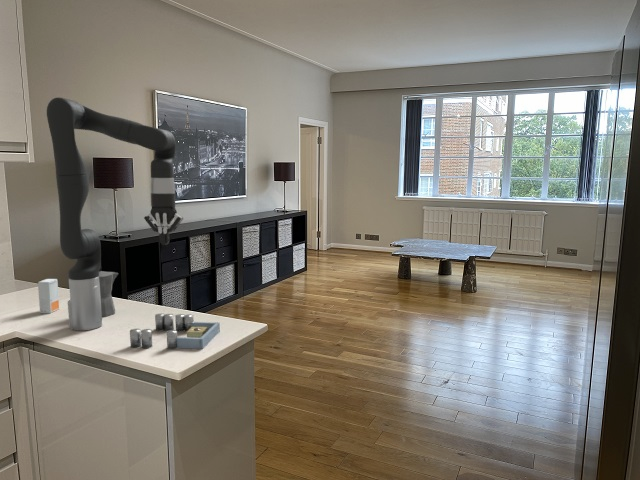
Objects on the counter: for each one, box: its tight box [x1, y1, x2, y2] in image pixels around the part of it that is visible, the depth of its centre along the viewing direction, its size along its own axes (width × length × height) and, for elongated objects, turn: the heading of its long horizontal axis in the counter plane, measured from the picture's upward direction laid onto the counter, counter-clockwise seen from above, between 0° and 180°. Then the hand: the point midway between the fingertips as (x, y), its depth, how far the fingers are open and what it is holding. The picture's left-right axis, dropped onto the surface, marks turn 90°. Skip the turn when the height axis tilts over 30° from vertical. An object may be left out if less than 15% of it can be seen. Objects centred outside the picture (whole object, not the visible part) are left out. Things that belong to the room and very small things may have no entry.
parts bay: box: [176, 321, 221, 350], centre depth 151 cm, size 10×16×3 cm, turn 174°
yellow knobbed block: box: [186, 327, 208, 338], centre depth 151 cm, size 5×5×4 cm
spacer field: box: [129, 313, 195, 350], centre depth 152 cm, size 14×19×5 cm
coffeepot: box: [99, 266, 119, 318], centre depth 176 cm, size 15×9×18 cm, turn 129°
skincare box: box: [37, 278, 60, 314], centre depth 181 cm, size 6×4×12 cm
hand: (164, 244), depth 158 cm, fingers closed
